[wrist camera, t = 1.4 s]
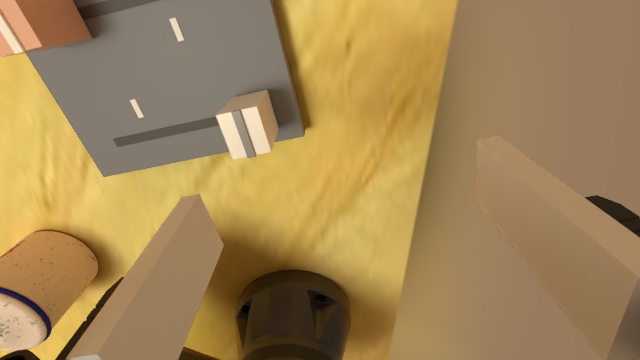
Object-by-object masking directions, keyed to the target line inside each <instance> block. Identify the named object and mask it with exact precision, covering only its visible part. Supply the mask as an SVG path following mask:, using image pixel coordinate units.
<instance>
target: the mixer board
mask: <svg viewBox="0 0 640 360" xmlns="http://www.w3.org/2000/svg"><path fill="white" fill-rule="evenodd" d="M73 2H74V4H75V5H76V7H77V9H78V11H79V13H80V15H81V17H82V19H83V21H84V23H85V25H86V27H87V28H88V30H89V32H90V34H91V36H92V38H93V39H91V40H87V41H83V42H80V43H76V44H72V45H68V46H64V47H60V48H55V49H48V50H42V51H36V52H29V53H26V54H27V56H28V58H29V59H30V61H31V62H32V64H33V66H34V67H35V69H36V70H37V72H38V74H39V75H40V77H41V78H42V80H43V81H44V83H45V85H46V86H47V88H48V89H49V91H50V93H51V94H52V96H53V97H54V99H55V100H56V102H57V104H58V105H59V107H60V108H61V110H62V112H63V113H64V115H65V116H66V118H67V119H68V121H69V123H70V124H71V126H72V127H73V129H74V131H75V132H76V134H77V135H78V137H79V138H80V140H81V142H82V143H83V145H84V146H85V148H86V150H87V151H88V153H89V154H90V156H91V157H92V159H93V161H94V162H95V164H96V165H97V167H98V169H99V170H100V172H101V173H102V175H103V177H107V176H111V175H116V174H121V173H126V172H131V171H136V170H141V169H146V168H151V167H156V166H160V165H165V164H170V163H175V162H180V161H185V160H190V159H195V158H200V157H204V156H209V155H214V154H219V153H224V152H229V148H228V146H227V143H226V141H225V138H224V136H223V133H222V130H221V128H220V125H219V123H218V120H217V118H216V114H217V113H218V112H219V111H220V110H221V109H222V108H223V107H224V106H225V105H226V104H227V103H228V102H229V101H230V100H231V99H232V98H233V97H236V96H240V95H245V94H249V93H254V92H258V91H263V90H268V94H269V97H270V100H271V104H272V107H273V111H274V114H275V117H276V121H277V124H278V128H279V130H278V133H277V136H276V139H275V142H278V141H283V140H288V139H293V138H298V137H302V136H304V134H305V126H304V122H303V118H302V114H301V110H300V106H299V102H298V98H297V94H296V90H295V86H294V82H293V78H292V74H291V70H290V66H289V62H288V58H287V54H286V50H285V46H284V42H283V38H282V34H281V30H280V26H279V22H278V18H277V14H276V10H275V6H274V2H273V0H73Z"/></svg>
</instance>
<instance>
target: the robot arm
mask: <svg viewBox="0 0 640 360" xmlns="http://www.w3.org/2000/svg"><path fill="white" fill-rule="evenodd" d="M476 168H477V169H476V202H477V203H478V205H479V206H480V207H481V209H482V210H483V211H484V212H485V214H486V215H487V216H488V217H489V219H490V220H491V221H492V222H493V224H494V225H495V226H496V227H497V229H498V230H499V231H500V232H501V234H502V235H503V236H504V238H505V239H506V240H507V241H508V243H509V244H510V245H511V246H512V248H513V249H514V250H515V251H516V252H517V254H518V255H519V256H520V258H521V259H522V260H523V261H524V263H525V264H526V265H527V266H528V268H529V269H530V270H531V271H532V273H533V274H534V275H535V276H536V278H537V279H538V280H539V282H540V283H541V284H542V285H543V287H544V288H545V289H546V290H547V291H548V293H549V294H550V295H551V297H552V298H553V299H554V300H555V302H556V303H557V304H558V305H559V307H560V308H561V309H562V310H563V312H564V313H565V314H566V315H567V317H568V318H569V319H570V320H571V322H572V323H573V324H574V326H575V327H576V328H577V329H578V330H579V332H580V333H581V334H582V335H583V337H584V338H585V339H586V341H587V342H588V343H589V344H590V346H591V347H592V348H593V349H594V351H595V352H596V353H597V354H598V356H599V357H600V358H601V359H602V360H639V359H640V217H639V216H638V215H636V214H635V213H633V212H632V211H630V210H629V209H627V208H625V207H624V206H623V205H621V204H619V203H616V202H613V201H611V200H608V199H605V198H603V197H600V196H591V197H585V198H584V197H583V196H582V195H580V194H579V193H577V192H576V191H575V190H573V189H572V188H570V187H569V186H568V185H566V184H565V183H564V182H562V181H561V180H559V179H558V178H557V177H555V176H554V175H553V174H551V173H550V172H549V171H547V170H546V169H544V168H543V167H541V166H540V165H539V164H537V163H536V162H535V161H533V160H532V159H531V158H529V157H528V156H526V155H525V154H524V153H522V152H521V151H519V150H518V149H517V148H515V147H514V146H513V145H511V144H510V143H508V142H507V141H506V140H504V139H503V138H502V137H500V136H494V137H488V138H483V139H479V140H477V167H476ZM223 247H224V244H223V242H222V240H221V238H220V236H219V234H218V232H217V230H216V228H215V225H214V223H213V221H212V219H211V217H210V215H209V213H208V211H207V209H206V207H205V205H204V203H203V201H202V199H201V196H200V194H197V195H192V196H187V197H182V198H181V199H180V201H179V202H178V204H177V205H176V206H175V208H174V209H173V210H172V212H171V213H170V215H169V216H168V217H167V219H166V220H165V222H164V223H163V224H162V226H161V227H160V228H159V230H158V231H157V233H156V234H155V235H154V237H153V238H152V240H151V241H150V242H149V244H148V245H147V247H146V248H145V249H144V251H143V252H142V253H141V255H140V256H139V258H138V259H137V260H136V262H135V263H134V265H133V266H132V267H131V269H130V270H129V271H128V273H127V274H126V276H125V277H122V278H121V279H119V280H118V281H117V282H116V283H115V284H114V285H113V286H112V287H111V288H109V289H108V290H107V291H106V292H105V294H104V295H103V296H102V298H101V299H100V300H99V302H98V303H97V304H96V308H95V309H93V310H92V311H91V313H90V314H89V315H88V317H87V320H86V321H84V322H83V323H82V325H81V326H80V327H79V329H78V330H77V331H76V333H75V334H74V335H73V337H72V338H71V339H70V341H69V342H68V343H67V345H66V346H65V347H64V349H63V350H62V351H61V353H60V354H59V355H58V357H57V358H56V359H55V360H219V359H217V358H214V357H211V356H209V355H206V354H203V353H201V352H198V351H195V350H193V349H190V348H187V347H184V344H185V342H186V339H187V337H188V334H189V332H190V329H191V327H192V324H193V322H194V319H195V317H196V314H197V312H198V309H199V307H200V304H201V302H202V299H203V297H204V294H205V292H206V289H207V287H208V284H209V282H210V279H211V277H212V274H213V272H214V269H215V267H216V264H217V262H218V259H219V257H220V254H221V252H222V249H223ZM235 326H236V337H237V348H238V359H239V360H342V359H343V355H344V351H345V347H346V343H347V339H348V335H349V332H350V327H351V315H350V306H349V301H348V299H347V297H346V295H345V293H344V292H343V291H342V290H341V289H340V288H339V287H338V286H337V285H336V284H335V283H333V282H332V281H330V280H328V279H327V278H324V277H322V276H320V275H317V274H313V273H309V272H304V271H280V272H275V273H271V274H268V275H265V276H262V277H260V278H258V279H257V280H255V281H253V282H252V283H251V284H250V285H248V286H247V287H246V289H245V290H244V291H243V293H242V295H241V297H240V300H239V303H238V307H237V311H236V316H235ZM0 360H40V359H39V358H38V357H37V356H36V355H34V354H33V353H32V352H31V351H29V350H27V349H24V350H17V351H14V352H12V353H9V354H7V355H5V356H3V357H1V358H0Z"/></svg>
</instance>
